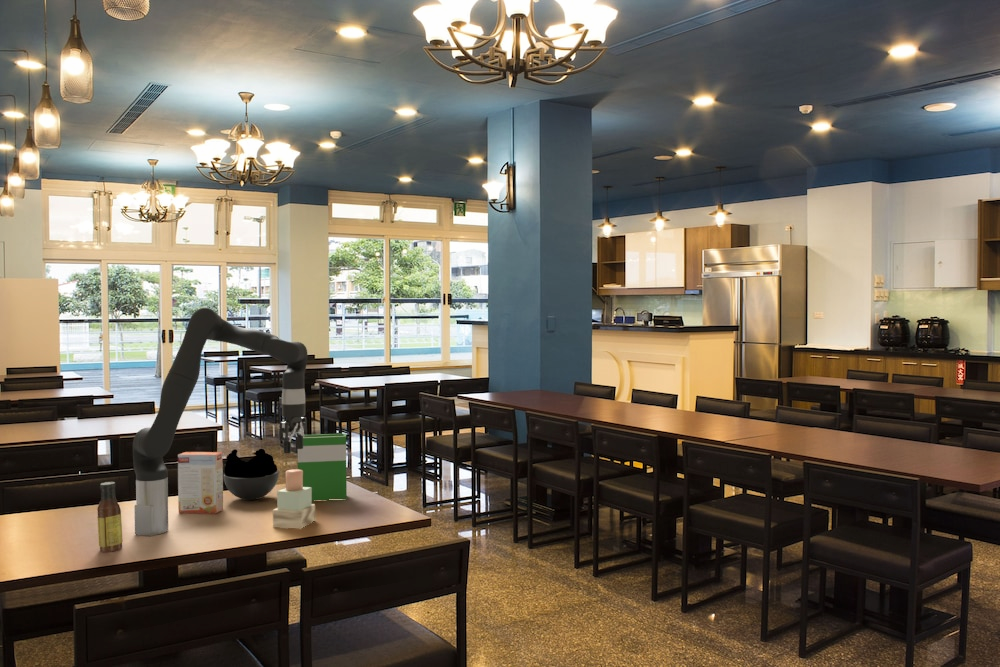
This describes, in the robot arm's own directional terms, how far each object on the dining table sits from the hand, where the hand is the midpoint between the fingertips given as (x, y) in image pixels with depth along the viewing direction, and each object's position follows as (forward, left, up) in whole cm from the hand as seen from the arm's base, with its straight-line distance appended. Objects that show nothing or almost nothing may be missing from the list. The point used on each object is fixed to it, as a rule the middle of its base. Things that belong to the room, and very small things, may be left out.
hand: (293, 450), depth 252 cm
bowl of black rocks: (+28, +32, -25) cm, 49 cm away
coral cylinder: (0, 0, -13) cm, 13 cm away
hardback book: (+34, +6, -25) cm, 43 cm away
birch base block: (0, 0, -25) cm, 25 cm away
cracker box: (+8, +40, -25) cm, 48 cm away
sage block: (0, 0, -19) cm, 19 cm away
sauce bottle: (-37, +40, -25) cm, 60 cm away
